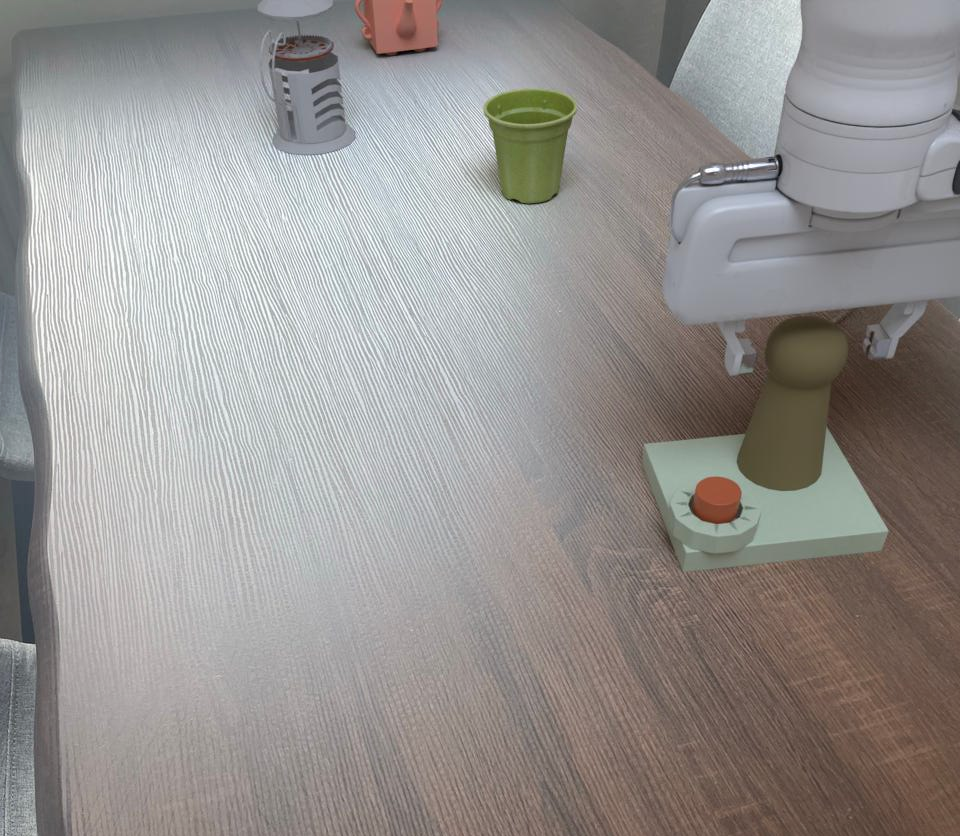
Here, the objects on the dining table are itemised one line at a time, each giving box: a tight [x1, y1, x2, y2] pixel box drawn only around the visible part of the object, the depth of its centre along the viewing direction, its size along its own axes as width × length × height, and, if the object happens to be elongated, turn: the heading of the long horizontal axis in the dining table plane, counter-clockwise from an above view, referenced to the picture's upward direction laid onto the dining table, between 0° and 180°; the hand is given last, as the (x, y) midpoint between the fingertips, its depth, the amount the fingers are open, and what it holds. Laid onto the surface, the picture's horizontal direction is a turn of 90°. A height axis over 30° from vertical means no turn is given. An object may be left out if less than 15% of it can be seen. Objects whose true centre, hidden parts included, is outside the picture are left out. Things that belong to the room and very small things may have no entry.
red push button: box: [692, 476, 742, 524], centre depth 68 cm, size 3×3×2 cm
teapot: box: [354, 0, 443, 56], centre depth 136 cm, size 12×15×8 cm
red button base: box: [641, 426, 890, 573], centre depth 72 cm, size 14×12×4 cm
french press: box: [257, 0, 356, 156], centre depth 110 cm, size 10×12×25 cm
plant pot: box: [482, 88, 578, 204], centre depth 106 cm, size 9×9×9 cm
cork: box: [737, 315, 849, 491], centre depth 70 cm, size 6×6×11 cm
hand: (807, 362), depth 68 cm, fingers open, 8 cm apart
